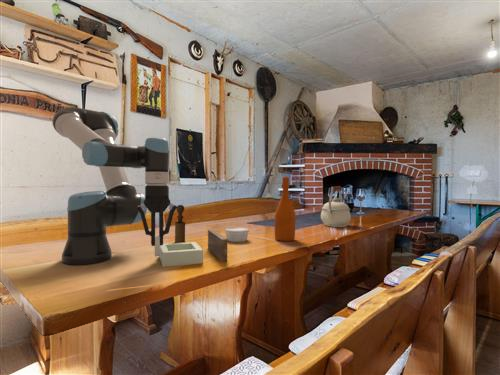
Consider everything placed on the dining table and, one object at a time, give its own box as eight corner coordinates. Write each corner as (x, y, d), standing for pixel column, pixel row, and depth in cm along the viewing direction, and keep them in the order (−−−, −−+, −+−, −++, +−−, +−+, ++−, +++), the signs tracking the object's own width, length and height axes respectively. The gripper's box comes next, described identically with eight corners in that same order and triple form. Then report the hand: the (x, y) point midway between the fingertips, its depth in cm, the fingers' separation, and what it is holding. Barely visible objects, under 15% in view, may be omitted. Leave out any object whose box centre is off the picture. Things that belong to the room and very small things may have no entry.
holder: (162, 266, 94) (162, 252, 94) (159, 256, 106) (159, 244, 106) (202, 263, 99) (203, 249, 99) (195, 253, 111) (195, 241, 111)
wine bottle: (298, 239, 142) (299, 177, 142) (289, 242, 134) (291, 176, 133) (280, 236, 148) (281, 176, 147) (270, 240, 139) (271, 176, 139)
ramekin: (236, 236, 146) (236, 226, 146) (253, 240, 139) (253, 229, 139) (220, 240, 138) (220, 229, 137) (237, 244, 131) (238, 232, 130)
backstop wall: (221, 262, 101) (221, 239, 100) (207, 249, 119) (208, 229, 119) (227, 262, 101) (227, 239, 101) (212, 249, 120) (212, 229, 120)
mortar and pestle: (173, 253, 113) (173, 206, 112) (169, 249, 118) (170, 204, 118) (190, 251, 116) (190, 205, 115) (185, 247, 121) (186, 204, 121)
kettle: (327, 222, 202) (328, 185, 201) (354, 224, 191) (356, 186, 191) (312, 226, 182) (313, 186, 181) (342, 230, 171) (343, 187, 170)
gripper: (136, 185, 93) (136, 259, 93) (178, 185, 97) (178, 256, 98) (136, 184, 100) (136, 254, 100) (175, 184, 104) (175, 251, 105)
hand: (157, 255), depth 99 cm, fingers closed
